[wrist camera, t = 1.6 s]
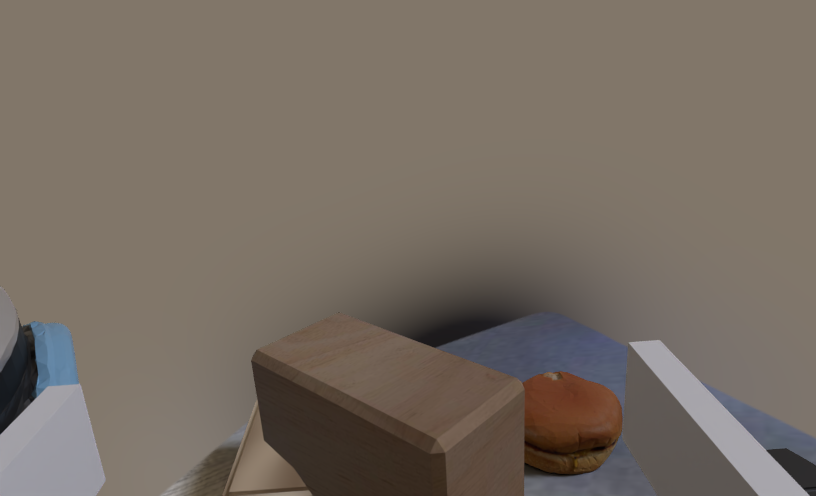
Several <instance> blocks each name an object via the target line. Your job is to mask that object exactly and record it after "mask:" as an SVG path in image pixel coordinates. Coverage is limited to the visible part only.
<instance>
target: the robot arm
mask: <svg viewBox="0 0 816 496" xmlns="http://www.w3.org/2000/svg"><path fill="white" fill-rule="evenodd" d="M622 439H623V441H624V442H625V444H626V446H627V447H628V449H629V450H630V452H631V454H632V455H633V457H634V458H635V460H636V462H637V463H638V465H639V466H640V468H641V470H642V471H643V473H644V474H645V476H646V478H647V479H648V481H649V482H650V484H651V486H652V487H653V489H654V490H655V492H656V494H657V495H658V496H816V465H814V464H813V463H811V462H809V461H807V460H806V459H804V458H802V457H801V456H799V455H797V454H795V453H794V452H792V451H790V450H788V449H787V448H784V449H772V450H765V449H764V448H763V447H762V446H761V445H760V444H759V443H758V442H757V441H756V440H755V439H754V437H753V436H752V435H751V434H750V433H749V432H748V431H747V430H746V429H745V428H744V427H743V426H742V425H741V424H740V423H739V422H738V421H737V420H736V419H735V418H734V417H733V416H732V415H731V414H730V413H729V412H728V411H727V409H726V408H725V407H724V406H723V405H722V404H721V403H720V402H719V401H718V400H717V399H716V398H715V397H714V396H713V395H712V394H711V393H710V392H709V391H708V390H707V389H706V388H705V387H704V386H703V385H702V384H701V383H700V382H699V380H698V379H697V378H696V377H695V376H694V375H693V374H692V373H691V372H690V371H689V370H688V369H687V368H686V367H685V366H684V365H683V364H682V363H681V362H680V361H679V360H678V359H677V358H676V357H675V356H674V355H673V354H672V353H671V351H670V350H668V348H667V347H666V346H665V345H664V344H663V343H662V342H661V341H660V340H655V341H641V342H629V343H628V356H627V373H626V389H625V405H624V421H623V437H622ZM104 482H105V476H104V472H103V468H102V464H101V461H100V457H99V453H98V449H97V445H96V442H95V438H94V434H93V430H92V426H91V422H90V419H89V415H88V411H87V407H86V404H85V400H84V396H83V392H82V388H81V385H80V384H79V381H78V374H77V368H76V360H75V353H74V347H73V341H72V336H71V333H70V331H69V329H68V328H67V327H66V326H64V325H63V324H59V323H48V324H44V323H41V322H35V321H34V322H31V323H29V324H27V325H23V327H22V326H21V324H20V321H19V318H18V315H17V312H16V309H15V307H14V305H13V303H12V301H11V300H10V298H9V296H8V294H7V293H6V292H5V290H4V289H3V288H2V287H0V496H96V495H97V493H98V492H99V490H100V488H101V487H102V485H103V484H104Z"/></svg>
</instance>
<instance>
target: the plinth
mask: <svg viewBox="0 0 816 496" xmlns="http://www.w3.org/2000/svg"><path fill="white" fill-rule="evenodd" d="M222 496H313V495H312V494H311V492H310V491H309V489H308V488H307V486H306V485H305V483H304V482H303V481H302V479H301V478H300V476H299V475H298V473H297V472H296V470H295V469H294V468H293V467H292V466H291V465H290V464H289V463H288V462H287V461H286V460H285V459H283V458H282V457H281V456H280V455H279V454H278V453H277V452H276V451H275V450H274V449H273V448H272V447H270V446H269V445H268V444H267V443H266V442H265V441H264V438H263V431H262V425H261V419H260V412H259V406H258V400H257V401H256V403H255V406H254V409H253V411H252V414H251V417H250V420H249V422H248V425H247V428H246V431H245V433H244V436H243V439H242V442H241V444H240V447H239V450H238V453H237V455H236V458H235V461H234V464H233V466H232V469H231V472H230V475H229V477H228V480H227V483H226V486H225V488H224V491H223V494H222Z"/></svg>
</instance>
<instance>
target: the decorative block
mask: <svg viewBox="0 0 816 496" xmlns="http://www.w3.org/2000/svg"><path fill="white" fill-rule="evenodd" d="M251 362H252V368H253V374H254V381H255V387H256V393H257V400H258V406H259V412H260V419H261V425H262V431H263V438H264V441H265V442H266V443H267V444H268V445H269V446H270V447H272V448H273V449H274V450H275V451H276V452H277V453H278V454H279V455H280V456H281V457H282V458H283V459H285V460H286V461H287V462H288V463H289V464H290V465H291V466H292V467H293V468H294V469H295V470H296V472H297V473H298V475H299V476H300V478H301V479H302V481H303V482H304V483H305V485H306V486H307V488H308V489H309V491H310V492H311V494H312V495H313V496H524V417H525V389H524V387H523V384H522V382H521V381H520V380H518V379H517V378H515V377H512V376H510V375H507V374H504V373H501V372H499V371H496V370H493V369H491V368H488V367H485V366H482V365H480V364H477V363H474V362H471V361H469V360H466V359H463V358H460V357H458V356H455V355H452V354H450V353H447V352H444V351H441V350H439V349H436V348H433V347H430V346H428V345H425V344H422V343H420V342H417V341H414V340H411V339H409V338H406V337H403V336H401V335H398V334H395V333H393V332H390V331H387V330H385V329H382V328H379V327H377V326H374V325H371V324H369V323H366V322H363V321H361V320H358V319H355V318H353V317H350V316H347V315H345V314H342V313H336V314H334V315H332V316H330V317H328V318H326V319H323V320H321V321H319V322H317V323H315V324H312V325H310V326H308V327H306V328H304V329H301V330H299V331H297V332H295V333H293V334H291V335H288V336H286V337H284V338H282V339H280V340H278V341H275V342H273V343H271V344H269V345H267V346H264V347H262V348H260V349H258V350H257V351H256V352H255V354H254V355H253V357H252V360H251Z"/></svg>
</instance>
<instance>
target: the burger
mask: <svg viewBox="0 0 816 496" xmlns="http://www.w3.org/2000/svg"><path fill="white" fill-rule="evenodd" d="M522 384H523V387H524V389H525V417H524V463H527V464H529V465H530V466H533V467H536V468H539V469H541V470H543V471H546V472H550V473H554V472H555V473H558V474H582V473H588V472H592V471H594V470H596V469H597V468H599V467H600V466H601V465H602V464H603V463H604V461H605V460H606V459H607V458H608V457H609V455H610V454H611V452H612V451H613V449H614V447H615V445H616V443H617V441H618V438H619V436H620V435H621V432H622V408H621V405H620V402H619V400H618V399H617V397H616V395H615V394H614V393H613V392H612V391H611V390H610V389H608V388H606V387H605V386H603V385H600V384H598V383H594V382H591V381H587V380H584V379H582V378H580V377H577V376H575V375H572V374H570V373H567V372H561V371H560V372H555V373H551V372H547V373H544V374H538V375H536V376H534V377H532V378H530V379H529V380H527V381H525V382H523V383H522Z"/></svg>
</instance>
